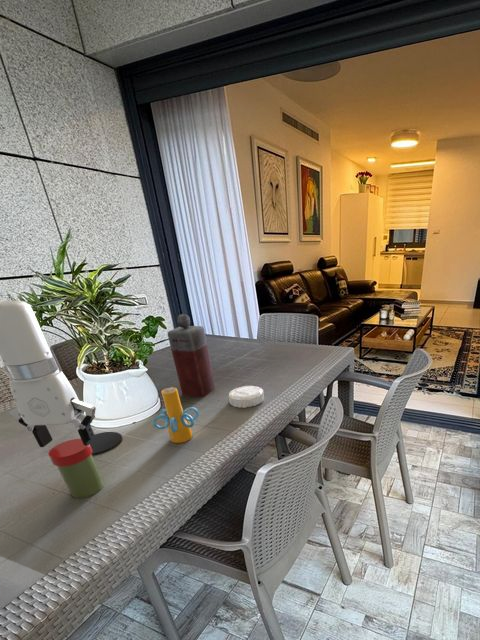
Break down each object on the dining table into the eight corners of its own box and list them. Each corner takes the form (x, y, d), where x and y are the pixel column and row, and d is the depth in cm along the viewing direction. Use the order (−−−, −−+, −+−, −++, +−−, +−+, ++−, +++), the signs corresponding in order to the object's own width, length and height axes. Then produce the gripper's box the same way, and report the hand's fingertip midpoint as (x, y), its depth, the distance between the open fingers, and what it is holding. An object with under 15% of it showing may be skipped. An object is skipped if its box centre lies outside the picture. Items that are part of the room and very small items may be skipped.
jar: (64, 494, 81) (44, 455, 76) (90, 477, 87) (73, 439, 81) (85, 500, 79) (66, 460, 74) (110, 482, 84) (94, 444, 79)
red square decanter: (189, 385, 137) (172, 311, 123) (215, 387, 135) (201, 312, 121) (176, 394, 130) (156, 317, 116) (203, 397, 127) (186, 317, 113)
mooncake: (271, 397, 124) (270, 388, 123) (247, 411, 116) (246, 401, 114) (246, 391, 130) (245, 382, 129) (222, 403, 122) (220, 393, 120)
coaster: (65, 451, 98) (64, 449, 97) (101, 430, 107) (101, 429, 107) (96, 459, 94) (95, 457, 93) (131, 436, 103) (131, 435, 103)
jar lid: (44, 462, 76) (39, 453, 75) (76, 444, 83) (72, 436, 82) (69, 469, 74) (64, 460, 73) (100, 450, 80) (96, 441, 79)
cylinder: (210, 433, 104) (200, 386, 96) (185, 451, 95) (171, 401, 88) (179, 426, 108) (167, 380, 101) (152, 442, 100) (137, 394, 93)
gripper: (-27, 377, 65) (16, 454, 74) (64, 373, 65) (97, 451, 73) (5, 364, 72) (41, 435, 80) (88, 360, 71) (116, 432, 80)
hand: (68, 443), depth 77 cm, fingers open, 9 cm apart
